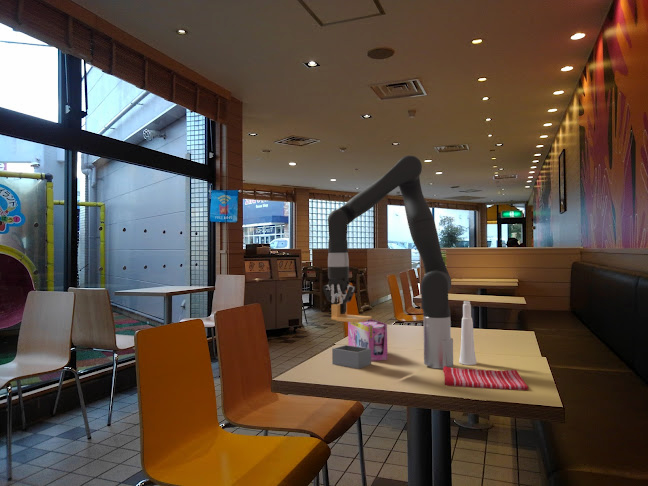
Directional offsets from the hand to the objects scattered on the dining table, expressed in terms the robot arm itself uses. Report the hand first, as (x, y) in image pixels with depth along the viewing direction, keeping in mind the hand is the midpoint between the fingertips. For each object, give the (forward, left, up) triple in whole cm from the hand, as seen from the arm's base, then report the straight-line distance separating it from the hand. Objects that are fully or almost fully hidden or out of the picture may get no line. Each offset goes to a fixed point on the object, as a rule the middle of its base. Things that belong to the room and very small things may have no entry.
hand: (339, 313), depth 165 cm
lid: (-5, 0, -2) cm, 6 cm away
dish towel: (-48, -9, -19) cm, 53 cm away
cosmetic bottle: (-36, -28, -18) cm, 49 cm away
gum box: (0, -17, -18) cm, 25 cm away
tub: (-5, 0, -18) cm, 19 cm away
